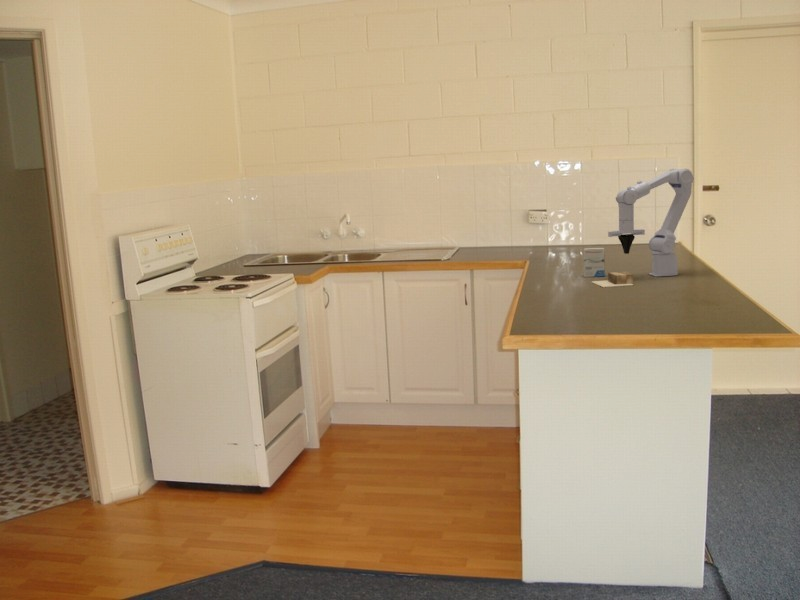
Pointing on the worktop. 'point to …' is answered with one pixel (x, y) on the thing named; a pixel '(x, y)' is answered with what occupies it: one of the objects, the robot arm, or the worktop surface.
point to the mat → (609, 284)
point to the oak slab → (620, 278)
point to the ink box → (594, 262)
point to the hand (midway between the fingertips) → (626, 253)
